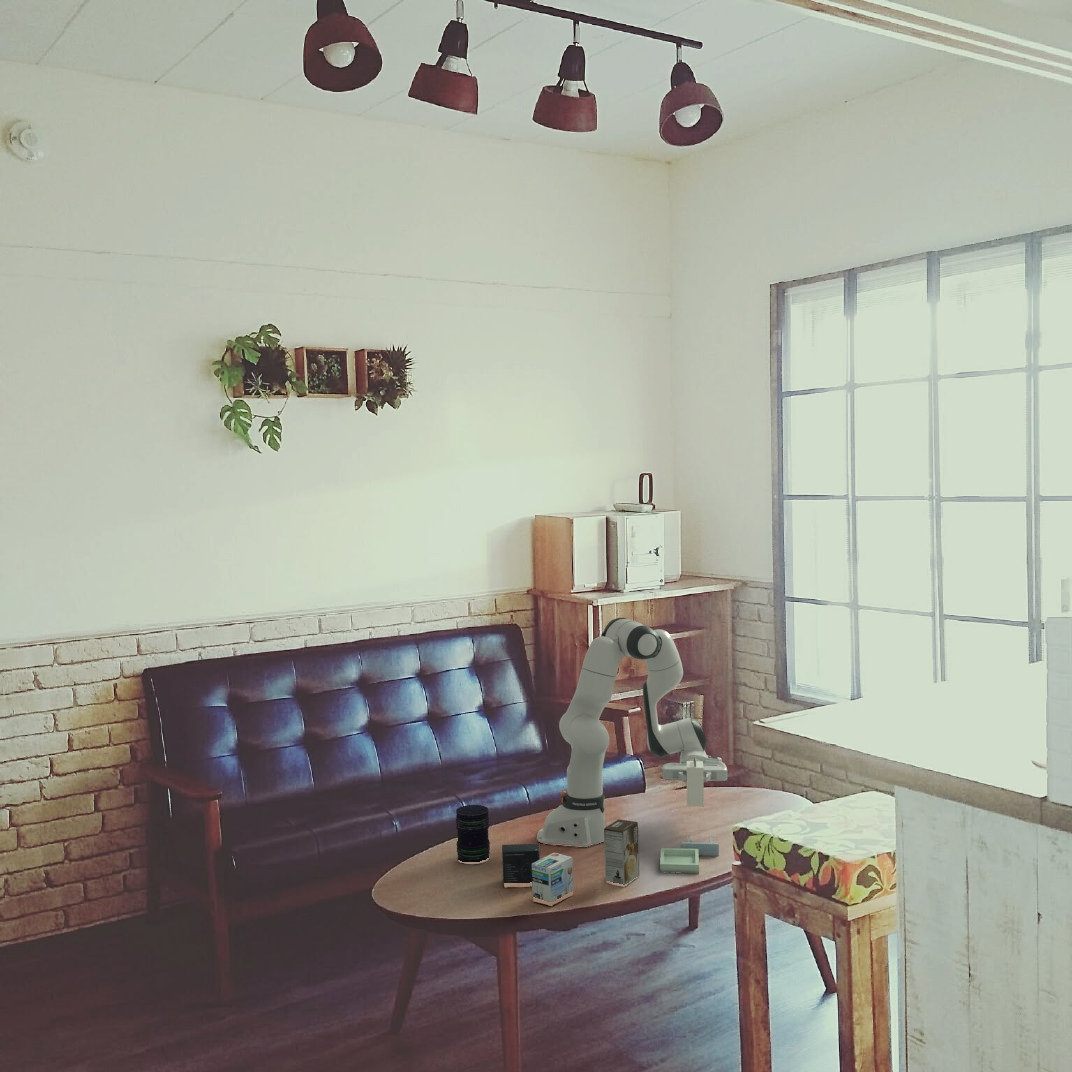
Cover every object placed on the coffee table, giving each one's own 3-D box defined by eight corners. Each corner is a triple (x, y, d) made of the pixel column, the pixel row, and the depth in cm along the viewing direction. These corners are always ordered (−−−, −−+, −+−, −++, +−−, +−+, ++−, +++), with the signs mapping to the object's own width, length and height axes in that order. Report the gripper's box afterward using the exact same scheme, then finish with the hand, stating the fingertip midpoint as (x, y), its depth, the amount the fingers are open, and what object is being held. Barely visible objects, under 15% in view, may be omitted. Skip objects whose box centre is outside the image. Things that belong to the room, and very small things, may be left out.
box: (540, 878, 319) (539, 842, 318) (540, 887, 312) (540, 851, 311) (503, 879, 319) (502, 843, 318) (502, 888, 312) (501, 852, 311)
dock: (681, 854, 334) (681, 843, 334) (681, 844, 343) (681, 833, 343) (718, 855, 333) (718, 844, 333) (717, 845, 341) (717, 834, 341)
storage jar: (455, 865, 331) (453, 815, 329) (458, 853, 340) (457, 805, 339) (489, 864, 330) (487, 815, 329) (491, 852, 340) (490, 804, 339)
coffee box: (619, 873, 321) (618, 818, 320) (639, 877, 318) (638, 821, 317) (604, 884, 314) (603, 827, 312) (625, 888, 310) (624, 831, 309)
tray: (660, 872, 321) (660, 864, 321) (660, 856, 334) (660, 848, 334) (699, 873, 320) (699, 864, 319) (698, 857, 332) (698, 848, 332)
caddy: (687, 806, 342) (686, 761, 341) (686, 799, 349) (686, 755, 348) (703, 806, 341) (703, 761, 340) (703, 799, 348) (702, 755, 347)
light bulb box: (551, 908, 298) (550, 868, 297) (531, 902, 302) (530, 863, 301) (574, 895, 306) (573, 856, 306) (554, 889, 311) (553, 851, 310)
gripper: (661, 756, 358) (660, 768, 344) (726, 757, 356) (728, 770, 342) (661, 775, 359) (660, 788, 345) (726, 777, 356) (728, 790, 342)
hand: (695, 779), depth 343 cm, fingers closed on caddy, 5 cm apart
